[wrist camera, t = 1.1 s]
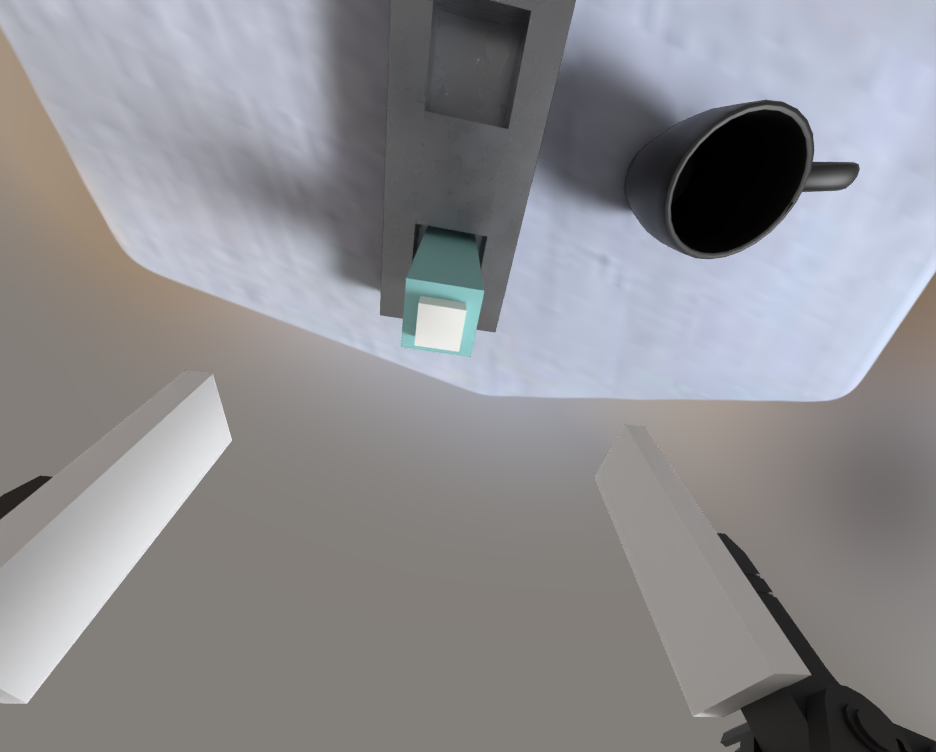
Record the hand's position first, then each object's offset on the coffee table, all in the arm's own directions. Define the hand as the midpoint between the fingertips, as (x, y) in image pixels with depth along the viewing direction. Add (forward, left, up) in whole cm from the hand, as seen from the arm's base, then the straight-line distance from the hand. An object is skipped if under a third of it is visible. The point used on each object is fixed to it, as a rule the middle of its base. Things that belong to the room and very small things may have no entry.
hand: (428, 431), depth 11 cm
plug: (0, 0, -23) cm, 23 cm away
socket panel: (-6, 0, -24) cm, 24 cm away
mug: (-9, +18, -24) cm, 31 cm away
